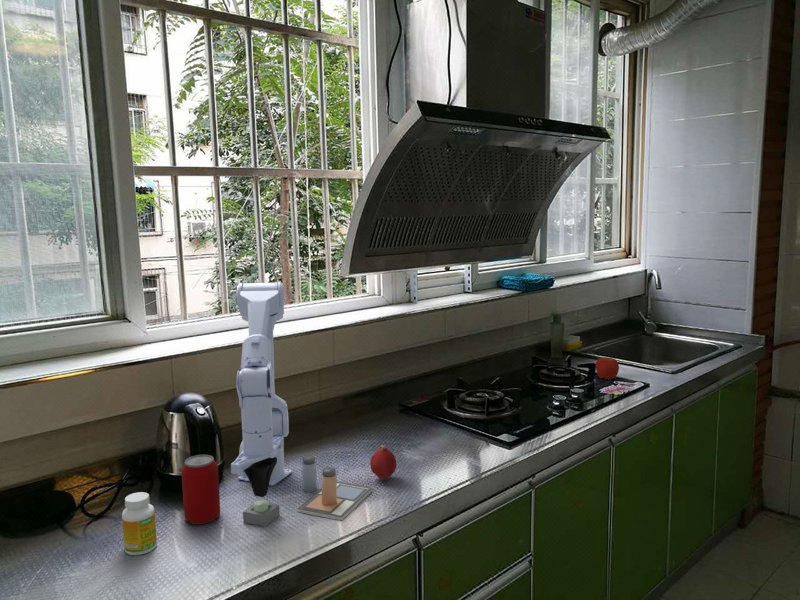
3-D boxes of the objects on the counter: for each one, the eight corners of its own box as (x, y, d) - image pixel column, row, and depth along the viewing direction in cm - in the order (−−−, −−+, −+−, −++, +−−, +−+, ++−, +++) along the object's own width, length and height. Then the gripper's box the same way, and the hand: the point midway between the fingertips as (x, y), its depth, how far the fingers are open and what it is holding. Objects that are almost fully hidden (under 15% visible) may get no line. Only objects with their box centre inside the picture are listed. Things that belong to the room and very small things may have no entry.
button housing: (243, 522, 122) (242, 511, 122) (258, 510, 127) (258, 500, 126) (265, 526, 120) (264, 516, 120) (279, 515, 125) (279, 504, 124)
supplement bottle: (143, 558, 110) (139, 505, 109) (117, 553, 111) (113, 501, 110) (163, 542, 115) (159, 491, 114) (138, 538, 116) (134, 488, 115)
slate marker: (300, 490, 136) (299, 459, 135) (307, 484, 138) (306, 454, 137) (312, 492, 134) (311, 461, 133) (319, 487, 137) (318, 456, 136)
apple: (607, 382, 215) (607, 360, 214) (590, 377, 222) (590, 355, 221) (623, 379, 219) (624, 357, 218) (605, 374, 226) (606, 353, 225)
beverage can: (224, 509, 127) (221, 452, 126) (215, 526, 121) (212, 466, 119) (190, 510, 127) (186, 453, 125) (180, 527, 120) (176, 467, 119)
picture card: (297, 511, 126) (297, 508, 126) (331, 483, 139) (331, 480, 139) (341, 520, 122) (341, 517, 122) (372, 490, 135) (372, 487, 135)
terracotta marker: (319, 504, 127) (318, 471, 126) (326, 497, 130) (326, 465, 129) (332, 507, 126) (331, 474, 125) (339, 500, 129) (339, 468, 128)
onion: (382, 472, 145) (381, 438, 143) (402, 478, 141) (401, 444, 140) (365, 480, 140) (364, 446, 139) (385, 487, 136) (384, 452, 135)
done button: (251, 520, 123) (250, 505, 122) (259, 514, 125) (259, 499, 125) (263, 523, 122) (262, 507, 121) (271, 516, 124) (271, 501, 124)
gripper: (252, 444, 113) (255, 515, 115) (295, 418, 126) (298, 483, 128) (220, 439, 115) (224, 508, 117) (265, 414, 129) (268, 477, 131)
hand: (260, 495), depth 123 cm, fingers closed
